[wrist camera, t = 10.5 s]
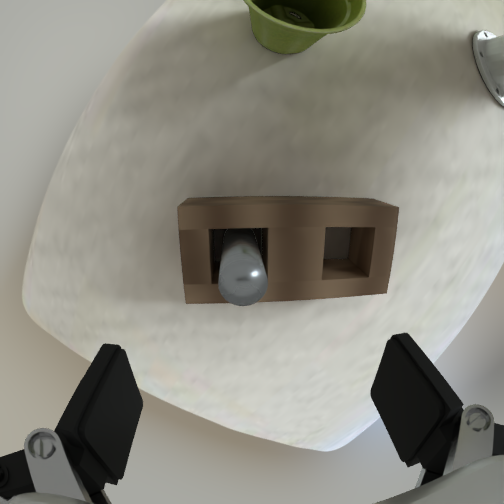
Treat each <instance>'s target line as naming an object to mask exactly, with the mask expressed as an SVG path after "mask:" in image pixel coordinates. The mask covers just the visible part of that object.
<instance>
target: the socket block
mask: <svg viewBox="0 0 504 504" xmlns="http://www.w3.org/2000/svg"><path fill="white" fill-rule="evenodd" d="M177 209H178V225H179V239H180V251H181V262H182V273H183V282H184V291H185V300H186V304H204V303H230V302H228V301H227V300H226V299H224V297H223V296H222V295H221V293H220V291H219V286H218V281H219V272H220V263H221V262H215V255H214V233H213V229H226V228H262V261H263V265H264V268H265V272H266V275H267V279H268V287H267V290H266V293H265V295H264V296H263V297H262V298H261V299H260V300H259V301H258V302H273V301H293V300H310V299H325V298H339V297H351V296H363V295H374V294H384V293H387V288H388V283H389V278H390V272H391V266H392V260H393V254H394V247H395V239H396V231H397V222H398V213H399V207H396V206H393V205H390V204H387V203H384V202H381V201H378V200H375V199H368V198H345V197H307V196H244V197H206V198H187V199H186V200H185V201H184V202H183V203H182V204H180V205H179V206H178V207H177ZM326 227H351V237H350V247H349V257H348V258H344V259H323V257H324V244H325V229H326Z"/></svg>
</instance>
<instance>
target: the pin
mask: <svg viewBox="0 0 504 504" xmlns="http://www.w3.org/2000/svg"><path fill="white" fill-rule="evenodd" d="M218 286H219V291H220V293H221V295H222V296H223V297H224V299H226V300H227V301H228V302H230V303H232V304H234V305H238V306H247V305H251V304H254V303H256V302H258V301H259V300H260V299H261V298H262V297H263V296H264V295H265V293H266V290H267V287H268V279H267V275H266V272H265V268H264V265H263V261H262V258H261V254H260V251H259V247H258V244H257V240H256V237H255V234H254V231H253V230H252V229H251V228H228V229H227V230H226V232H225V234H224V238H223V246H222V255H221V263H220V272H219V281H218Z"/></svg>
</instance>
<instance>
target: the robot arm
mask: <svg viewBox="0 0 504 504" xmlns="http://www.w3.org/2000/svg"><path fill="white" fill-rule="evenodd" d="M473 51H474V56H475V59H476V63H477V66H478V68H479V71H480V73H481V76H482V78H483V80H484V82H485V84H486V86H487V87H488V89H489V91H490V92H491V94H492V95H493V96H494V98H495V99H496V100H497V101H498V102H499V103H500V104H501V105H502V106H504V35H503V36H499V37H496V36H495V35H494V34H492V33H491V32H489V31H486V30H482V31H479V32H477V33H476V34H475V35H474V37H473ZM371 398H372V400H373V402H374V404H375V406H376V408H377V410H378V412H379V414H380V416H381V419H382V420H383V422H384V425H385V427H386V429H387V431H388V433H389V435H390V438H391V439H392V442H393V444H394V446H395V448H396V451H397V452H398V455H399V457H400V459H401V461H403V462H405V463H406V465H407V467H410V466H413V465H415V464H417V463H421V465H422V470H421V473H420V475H419V478H418V481H417V484H416V486H415V489H412V490H410V491H407V492H405V493H402V494H400V495H397V496H394V497H392V498H389V499H386V500H383V501H380V502H377V503H374V504H504V425H500V424H496V423H494V418H493V415H492V413H491V412H490V411H489V410H488V409H487V408H486V407H484V406H481V405H476V404H475V405H470V406H468V407H467V408H465V410H463V408H462V406H463V403H462V402H461V400H460V399H459V397H458V396H457V395H456V393H455V392H454V391H453V389H452V388H451V387H450V385H449V384H448V383H447V381H446V380H445V379H444V377H443V376H442V375H441V374H440V372H439V371H438V370H437V368H436V367H435V366H434V365H433V363H432V362H431V361H430V360H429V358H428V357H427V356H426V355H425V353H424V352H423V351H422V350H421V348H420V347H419V346H418V345H417V344H416V342H415V341H414V340H413V339H412V338H411V336H410V335H409V334H408V333H402V334H396V335H392V337H391V338H390V339H389V340H388V341H387V343H386V347H385V350H384V353H383V356H382V359H381V362H380V365H379V368H378V371H377V374H376V377H375V380H374V382H373V385H372V388H371ZM142 407H143V400H142V397H141V395H140V392H139V389H138V387H137V384H136V381H135V378H134V375H133V372H132V370H131V367H130V364H129V361H128V357H127V354H126V351H125V350H124V349H121V347H120V345H115V344H103V345H102V346H101V348H100V350H99V351H98V353H97V355H96V356H95V358H94V360H93V362H92V363H91V365H90V367H89V368H88V370H87V372H86V374H85V375H84V377H83V378H82V380H81V381H80V383H79V385H78V387H77V389H76V390H75V392H74V394H73V396H72V398H71V400H70V401H69V403H68V405H67V407H66V409H65V411H64V413H63V415H62V417H61V419H60V421H59V423H58V425H57V427H56V429H55V431H52V430H50V429H47V428H40V429H36V430H34V431H32V432H31V433H30V434H29V435H28V436H27V438H26V439H25V443H24V449H23V450H20V451H17V452H14V453H12V454H9V455H5V456H2V457H0V504H111V502H110V500H109V498H108V497H107V495H106V493H105V491H104V490H103V489H104V486H105V483H110V484H114V485H117V483H118V479H122V478H123V476H124V472H125V468H126V464H127V461H128V457H129V453H130V449H131V445H132V442H133V439H134V435H135V432H136V428H137V424H138V421H139V418H140V414H141V411H142Z"/></svg>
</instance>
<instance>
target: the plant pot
mask: <svg viewBox="0 0 504 504" xmlns="http://www.w3.org/2000/svg"><path fill="white" fill-rule="evenodd" d="M244 2H245V3H246V4H247V5H248V6H249V11H250V17H251V24H252V31H253V33H254V35H255V37H256V39H257V40H258V42H259V43H260V44H262V45H263V46H264V47H266V48H267V49H269V50H271V51H274V52H277V53H281V54H290V53H299V52H302V51H304V50H306V49H307V48H309V47H310V46H311V45H313V44H314V43H315V42H317V41H318V40H319V39H321V38H322V37H324V36H325V35H327V34H331V33H337V32H341V31H344V30H347V29H349V28H351V27H352V26H354V25H355V24H357V23H358V22H359V21H360V20H361V18H362V17H363V15H364V13H365V9H366V0H244ZM289 12H293V13H296V14H297V15H299V16H300V17H301V19H299V18H297V17H296V16H294V15H292V14H290V13H289Z"/></svg>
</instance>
